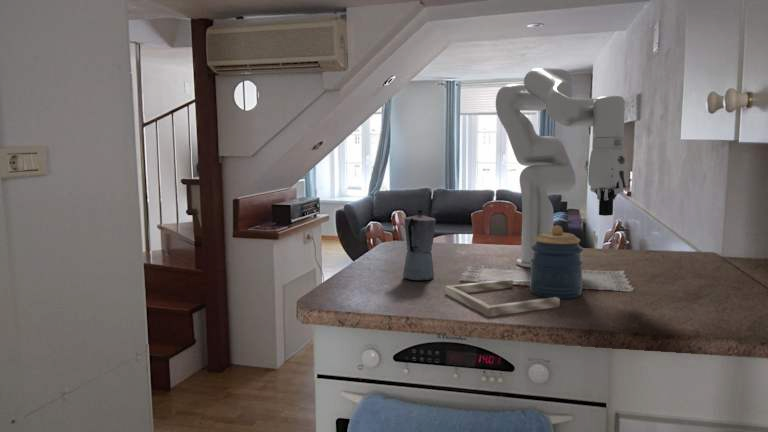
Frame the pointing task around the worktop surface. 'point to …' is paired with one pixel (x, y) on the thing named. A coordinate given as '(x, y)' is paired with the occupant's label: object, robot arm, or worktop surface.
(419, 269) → the moka pot
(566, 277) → the canister
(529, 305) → the bay frame
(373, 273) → the worktop surface
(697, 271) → the worktop surface
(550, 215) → the robot arm
